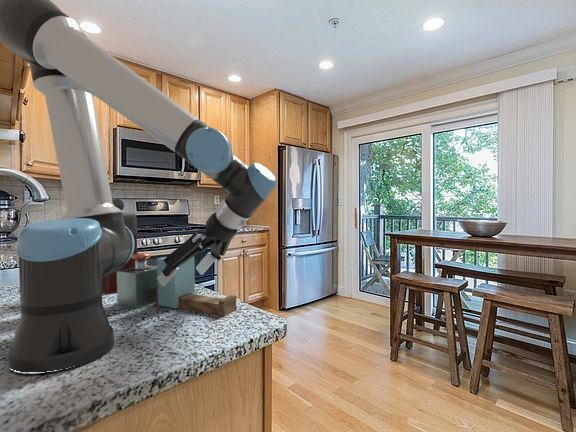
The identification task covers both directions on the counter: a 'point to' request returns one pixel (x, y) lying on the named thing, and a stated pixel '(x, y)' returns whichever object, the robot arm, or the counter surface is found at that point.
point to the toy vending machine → (131, 223)
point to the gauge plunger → (140, 261)
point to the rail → (206, 303)
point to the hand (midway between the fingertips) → (181, 276)
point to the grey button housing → (136, 287)
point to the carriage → (176, 283)
